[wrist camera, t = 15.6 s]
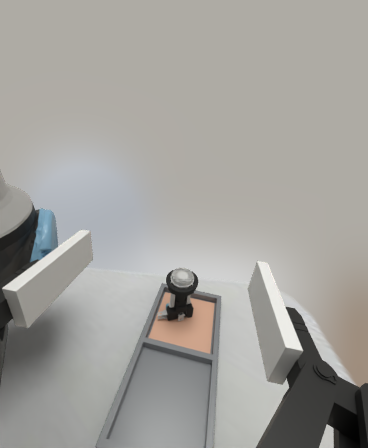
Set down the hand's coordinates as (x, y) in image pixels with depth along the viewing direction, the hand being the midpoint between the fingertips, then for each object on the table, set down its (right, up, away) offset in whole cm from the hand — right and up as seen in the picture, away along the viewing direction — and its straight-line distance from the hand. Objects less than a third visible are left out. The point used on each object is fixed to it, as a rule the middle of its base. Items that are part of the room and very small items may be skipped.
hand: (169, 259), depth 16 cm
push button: (-1, -14, +22) cm, 26 cm away
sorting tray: (0, -18, +17) cm, 25 cm away
